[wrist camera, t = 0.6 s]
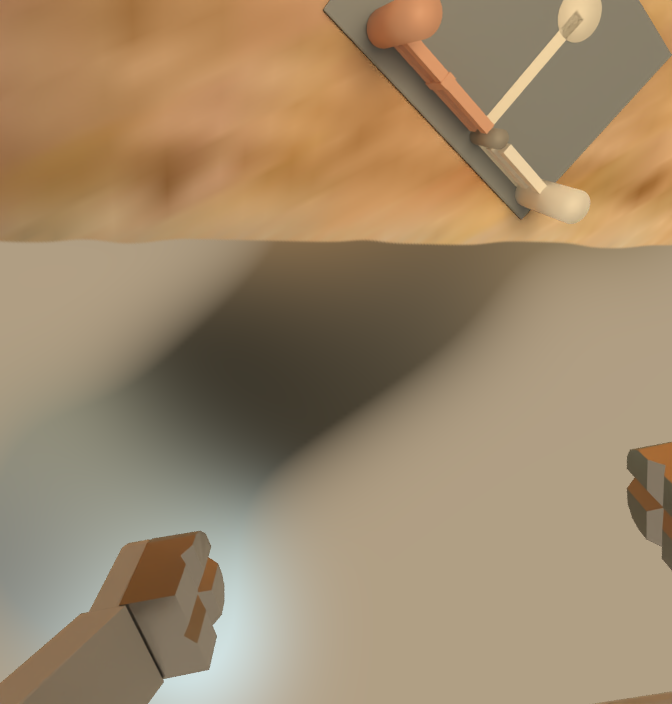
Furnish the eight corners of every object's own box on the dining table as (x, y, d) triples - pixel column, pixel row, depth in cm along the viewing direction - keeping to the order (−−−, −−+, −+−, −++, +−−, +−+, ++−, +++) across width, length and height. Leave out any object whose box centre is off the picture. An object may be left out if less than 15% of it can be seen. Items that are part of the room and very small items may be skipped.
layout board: (494, -232, 40) (497, -235, 40) (668, 55, 53) (672, 54, 53) (322, 9, 45) (323, 9, 45) (519, 218, 58) (521, 219, 58)
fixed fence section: (483, 116, 52) (527, 120, 45) (547, 189, 57) (596, 204, 50) (461, 142, 53) (500, 151, 45) (526, 212, 58) (571, 230, 50)
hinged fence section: (383, -2, 45) (421, -24, 36) (483, 113, 51) (537, 118, 43) (359, 29, 46) (392, 16, 37) (461, 139, 52) (509, 150, 43)
